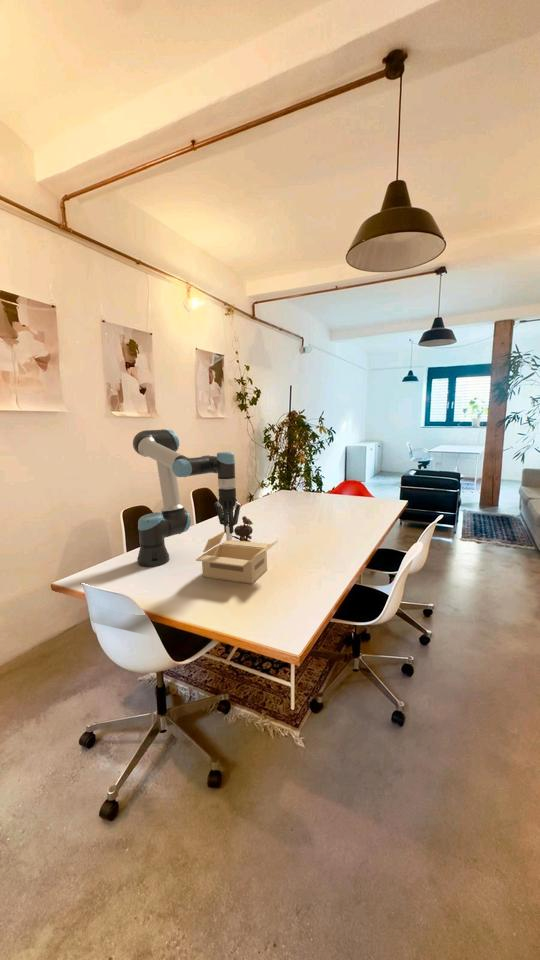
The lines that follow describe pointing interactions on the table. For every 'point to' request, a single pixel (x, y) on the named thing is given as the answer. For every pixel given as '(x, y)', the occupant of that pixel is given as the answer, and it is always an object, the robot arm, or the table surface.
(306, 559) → the table surface
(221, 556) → the carton
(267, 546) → the flap
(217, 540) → the flap
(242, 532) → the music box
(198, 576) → the table surface
